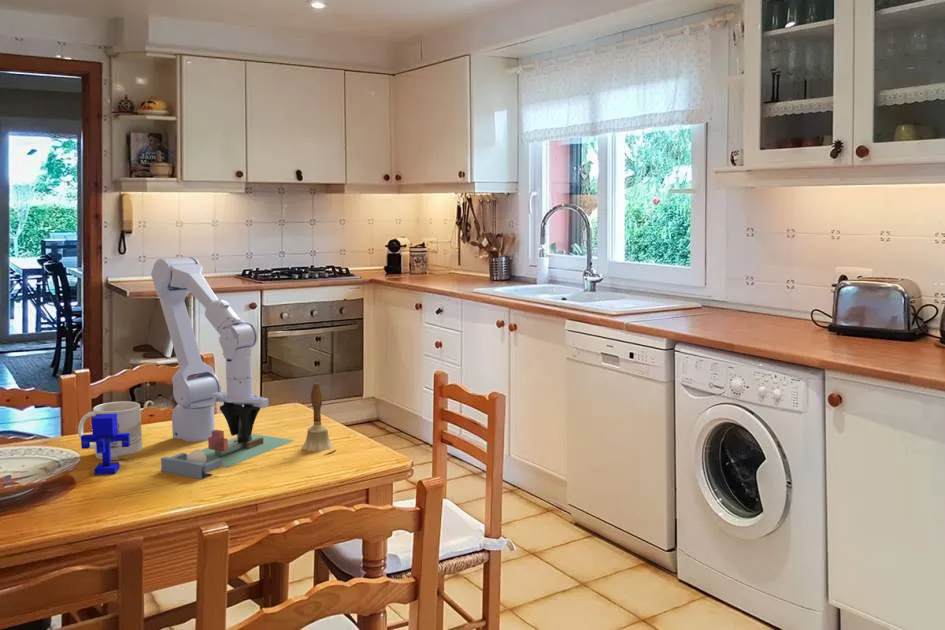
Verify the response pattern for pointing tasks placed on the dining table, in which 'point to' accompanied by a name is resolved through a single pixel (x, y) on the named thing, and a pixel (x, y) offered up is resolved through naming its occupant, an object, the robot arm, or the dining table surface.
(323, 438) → the hand bell
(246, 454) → the mat
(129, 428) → the mug
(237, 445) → the kicker rod
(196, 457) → the ball
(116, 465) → the figurine
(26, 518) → the dining table surface
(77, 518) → the dining table surface
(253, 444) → the rail guides
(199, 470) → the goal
